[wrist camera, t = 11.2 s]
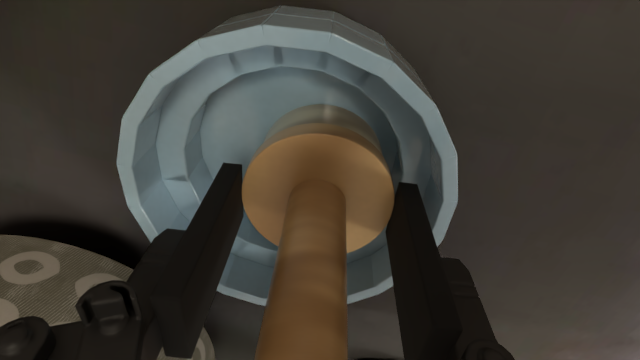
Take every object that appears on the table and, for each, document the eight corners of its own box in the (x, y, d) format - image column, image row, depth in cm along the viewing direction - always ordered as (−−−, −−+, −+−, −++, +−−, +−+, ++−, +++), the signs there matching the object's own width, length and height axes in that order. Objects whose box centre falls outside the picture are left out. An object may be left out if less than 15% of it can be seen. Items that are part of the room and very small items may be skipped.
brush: (399, 107, 16) (484, 351, 6) (373, 216, 19) (403, 479, 10) (257, 91, 16) (126, 313, 6) (258, 204, 19) (174, 455, 10)
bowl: (467, 23, 15) (517, 53, 10) (398, 250, 22) (411, 322, 18) (150, -13, 14) (72, 2, 10) (186, 228, 22) (149, 294, 18)
